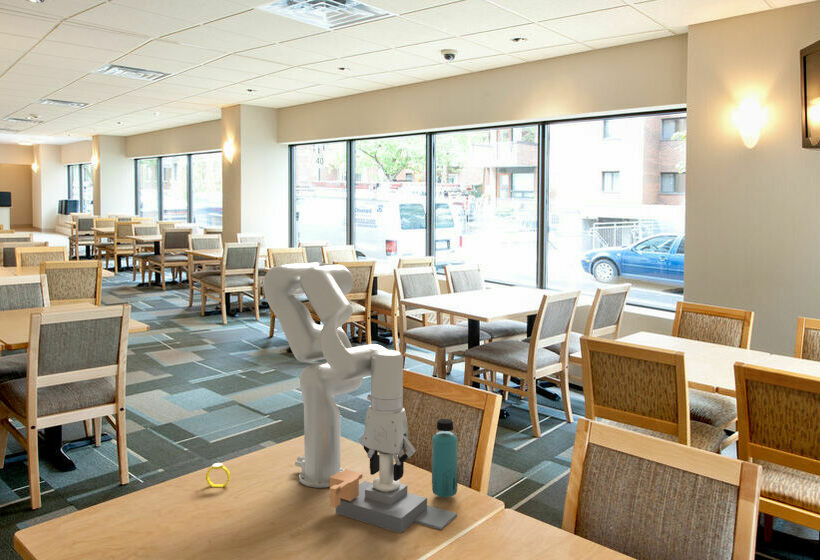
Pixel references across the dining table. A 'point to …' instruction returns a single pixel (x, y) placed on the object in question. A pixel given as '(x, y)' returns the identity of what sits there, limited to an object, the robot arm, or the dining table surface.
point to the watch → (218, 466)
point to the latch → (344, 486)
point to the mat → (435, 517)
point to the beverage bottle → (444, 460)
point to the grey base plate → (384, 507)
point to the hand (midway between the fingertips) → (386, 475)
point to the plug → (386, 474)
